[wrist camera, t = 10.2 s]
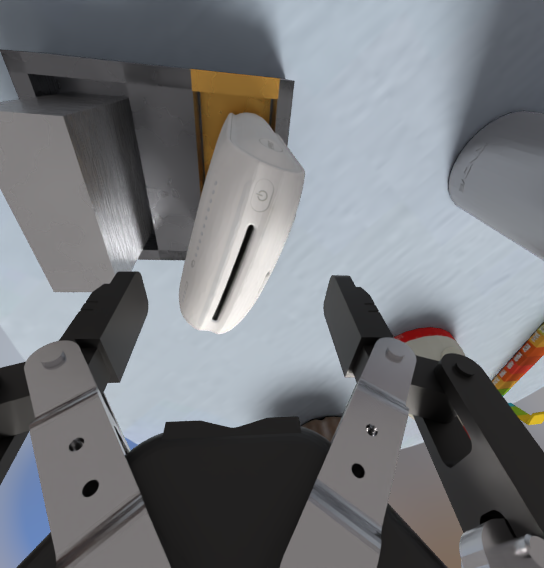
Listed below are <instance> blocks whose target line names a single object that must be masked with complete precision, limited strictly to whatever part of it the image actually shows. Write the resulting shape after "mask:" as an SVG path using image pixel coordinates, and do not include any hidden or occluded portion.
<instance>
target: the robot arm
mask: <svg viewBox="0 0 544 568" xmlns="http://www.w3.org/2000/svg"><path fill="white" fill-rule="evenodd" d="M449 193H450V196H451V199H452V201H453V202H454V203H455V205H456V206H458V207H459V208H461V209H462V210H464V211H466V212H467V213H469V214H470V215H472V216H473V217H475V218H477V219H478V220H480V221H481V222H483V223H484V224H486V225H487V226H489V227H491V228H492V229H494V230H495V231H497V232H499V233H500V234H502V235H503V236H505V237H507V238H508V239H510V240H511V241H513V242H515V243H516V244H518V245H520V246H521V247H523V248H524V249H526V250H528V251H529V252H531V253H532V254H534V255H536V256H537V257H539V258H540V259H542V260H544V113H537V112H529V111H519V112H513V113H510V114H507V115H504V116H502V117H500V118H498V119H496V120H494V121H493V122H491V123H489V124H488V125H487V126H485V127H484V128H483V129H482V130H480V131H479V132H478V133H477V134H476V135H475V136H474V137H473V138H472V139H471V140H470V141H469V142H468V143H467V145H466V146H465V147H464V149H463V150H462V151H461V153H460V154H459V156H458V158H457V160H456V162H455V163H454V166H453V169H452V171H451V174H450V180H449ZM374 304H375V303H374V302H373V300H372V298H371V296H370V295H369V294H368V293H367V292H366V291H365V290H364V289H362V288H361V287H356V286H355V285H354V283H353V281H352V279H351V277H350V276H339V275H332V276H331V278H330V281H329V285H328V288H327V292H326V296H325V300H324V315H325V319H326V322H327V325H328V328H329V331H330V334H331V337H332V340H333V343H334V346H335V349H336V352H337V355H338V358H339V361H340V364H341V367H342V370H343V373H344V376H345V378H347V377H355V379H356V382H357V384H356V386H355V388H354V391H353V393H352V395H351V398H350V400H349V402H348V404H347V407H346V409H345V411H344V413H343V416H342V418H341V420H340V422H339V425H338V427H337V429H336V431H335V434H334V436H333V438H332V440H331V442H330V441H329V440H328V439H326V438H325V437H323V436H322V435H320V434H319V433H317V432H315V431H313V430H310V429H308V428H305V427H301V426H300V421H299V417H275V418H265V419H262V420H259V421H256V422H253V423H249V424H246V425H243V426H240V427H236V428H230V427H225V426H221V425H217V424H212V423H208V422H204V421H179V422H166V424H165V428H164V433H161V434H158V435H156V436H154V437H151V438H149V439H148V440H146V441H144V442H142V443H141V444H139V445H138V446H136V447H135V448H133V449H132V450H130V448H129V446H128V444H127V442H126V440H125V438H124V436H123V434H122V431H121V429H120V427H119V425H118V422H117V420H116V418H115V416H114V413H113V411H112V409H111V407H110V404H109V402H108V400H107V398H106V396H105V394H104V390H105V388H106V385H107V383H120V381H121V378H122V376H123V373H124V371H125V368H126V366H127V363H128V361H129V358H130V356H131V353H132V351H133V348H134V346H135V343H136V341H137V338H138V336H139V333H140V331H141V328H142V326H143V324H144V321H145V319H146V316H147V313H148V299H147V295H146V291H145V288H144V284H143V280H142V276H141V274H140V272H128V271H119V272H117V273H116V275H115V276H114V278H113V279H112V281H111V282H110V284H103V285H101V286H100V287H99V288H97V289H96V290H95V291H93V292H92V294H91V295H90V296H89V298H88V299H87V301H86V303H85V304H84V305H83V307H82V308H81V311H79V312H78V314H77V315H76V317H75V318H74V320H73V321H72V323H71V324H70V325H69V327H68V328H67V330H66V331H65V333H64V334H63V336H62V337H61V338H60V340H59V341H56V342H53V343H50V344H47V345H45V346H43V347H41V348H40V349H38V350H37V351H35V352H34V353H33V354H32V355H31V356H30V357H29V358H28V359H27V361H26V362H23V363H19V364H15V365H11V366H6V367H2V368H0V485H1V483H2V481H3V479H4V477H5V475H6V473H7V472H8V470H9V468H10V466H11V464H12V462H13V460H14V459H15V456H16V455H17V453H18V451H19V449H20V447H21V446H22V444H23V442H24V440H25V438H26V436H27V434H28V432H29V431H30V435H31V440H32V444H33V449H34V454H35V458H36V463H37V468H38V473H39V478H40V483H41V487H42V492H43V497H44V501H45V506H46V511H47V515H48V521H49V525H50V530H51V532H50V533H49V535H48V536H47V537H46V538H45V539H44V540H43V541H42V542H41V543H40V544H39V545H38V546H37V547H36V548H35V549H34V550H33V551H32V552H31V553H30V554H29V555H28V556H27V557H26V558H25V559H24V560H23V561H22V562H21V563H20V565H19V566H18V567H17V568H447V566H446V565H444V563H443V562H442V561H441V560H440V559H439V558H438V557H437V556H436V555H435V553H434V552H433V551H432V550H431V549H430V548H429V547H428V546H427V545H426V544H425V543H424V542H423V541H422V540H421V538H420V537H419V536H418V535H417V534H416V533H415V532H414V531H413V530H412V529H411V528H410V526H409V525H408V524H407V523H406V522H405V521H404V520H403V519H402V518H401V517H400V516H399V515H398V513H396V511H395V510H394V509H393V508H392V507H391V506H390V505H389V504H388V499H389V495H390V491H391V486H392V482H393V478H394V474H395V469H396V465H397V461H398V457H399V452H400V448H401V444H402V440H403V436H404V431H405V427H406V423H407V419H408V414H412V415H413V417H414V419H415V421H416V424H417V426H418V428H419V431H420V433H421V435H422V437H423V440H424V442H425V444H426V447H427V449H428V451H429V454H430V456H431V458H432V461H433V463H434V465H435V468H436V470H437V472H438V474H439V477H440V479H441V481H442V484H443V486H444V488H445V490H446V493H447V495H448V498H449V500H450V502H451V505H452V507H453V509H454V511H455V514H456V516H457V518H458V521H459V523H460V525H461V527H462V530H463V532H464V534H463V535H462V537H461V540H460V556H461V560H462V561H461V566H462V568H544V452H543V451H542V449H541V448H540V446H539V445H538V444H537V442H536V441H535V440H534V438H533V437H532V436H531V434H530V433H529V432H528V430H527V429H526V428H525V426H524V425H523V423H522V422H521V421H520V419H519V418H518V417H517V415H516V414H515V412H514V411H513V410H512V408H511V407H510V406H509V404H508V403H507V402H506V400H505V399H504V398H503V396H502V395H501V393H500V392H499V391H498V389H497V388H496V387H495V385H494V384H493V383H492V381H491V380H490V379H489V377H488V376H487V374H486V373H485V372H484V370H483V369H482V368H481V367H480V366H479V365H478V364H477V363H475V362H474V361H473V360H471V359H469V358H468V357H465V356H463V355H460V354H456V353H448V354H445V355H444V356H443V357H442V358H441V360H440V361H436V360H433V359H429V358H425V357H421V356H417V355H415V353H414V352H413V350H412V349H411V348H410V347H409V346H408V345H407V344H405V343H404V342H402V341H400V340H398V339H395V338H394V337H393V335H392V334H391V332H390V330H389V328H388V327H387V325H386V323H385V321H384V319H383V318H382V316H381V314H380V312H378V309H377V307H376V305H374ZM457 415H458V416H457ZM458 417H459V418H458ZM459 419H460V420H461V422H462V424H463V425H462V424H461V422H460V420H459ZM463 426H464V427H465V429H466V431H467V432H466V431H465V429H464V427H463ZM467 433H468V434H467ZM468 435H469V436H468ZM469 437H470V438H469ZM470 439H471V440H470Z"/></svg>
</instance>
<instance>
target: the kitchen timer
mask: <svg viewBox="0 0 544 568" xmlns="http://www.w3.org/2000/svg"><path fill="white" fill-rule="evenodd" d="M394 338H395V339H398V340H400V341H402V342H404V343H405V344H407V345H408V346H409V347H410V348H411V349H412V350H413V352H414V353H415V355H417V356H421V357H425V358H429V359H433V360H436V361H440V360H441V358H442V357H443V356H444V355H445V354H448V353H456V354H460V355H463V356H465V354H464V352H463V350H462V349H461V347H460V346H459V344H458V343H457V342H456V340H455V339H454V338H453V337H452V335H451V334H450V333H449V332H447V331H445V330H443V329H441V328H433V327H428V328H418V329H414V330H411V331H407V332H404V333H402V334H400V335H398V336H396V337H394ZM465 357H466V356H465ZM408 416H410V417H411V418H412V419H414V417H413V415H412V414H408ZM457 416H458V415H457ZM458 418H459V417H458ZM414 420H415V419H414ZM459 420H460V419H459ZM460 422H461V420H460ZM461 424H462V422H461ZM462 425H463V424H462ZM463 427H464V426H463ZM464 429H465V427H464ZM465 431H466V429H465ZM466 432H467V431H466ZM467 434H468V433H467ZM468 436H469V435H468ZM469 438H470V437H469ZM470 440H471V439H470Z"/></svg>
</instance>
